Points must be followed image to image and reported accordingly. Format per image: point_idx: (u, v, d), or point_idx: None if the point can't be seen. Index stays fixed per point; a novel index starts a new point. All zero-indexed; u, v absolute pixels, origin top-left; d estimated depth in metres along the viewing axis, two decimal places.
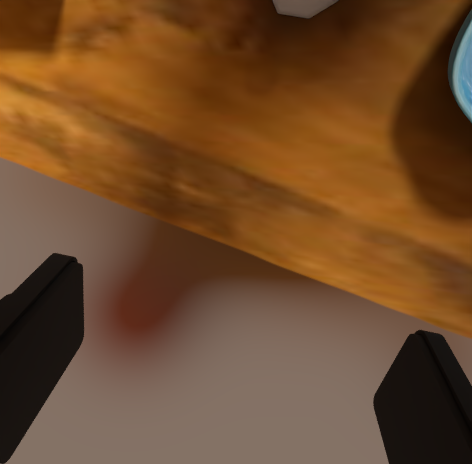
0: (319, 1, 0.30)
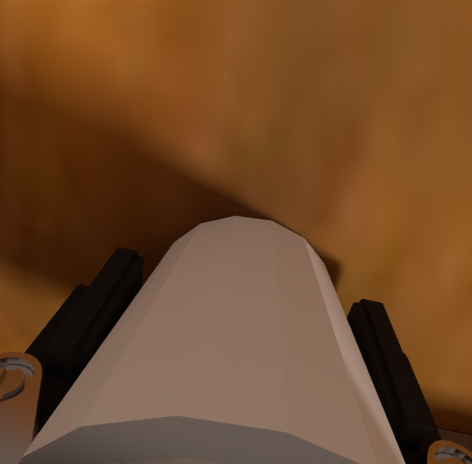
0: None
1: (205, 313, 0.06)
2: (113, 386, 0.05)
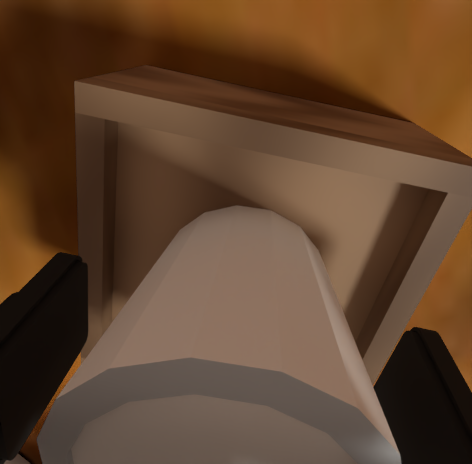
0: None
1: (211, 284, 0.07)
2: (133, 339, 0.06)
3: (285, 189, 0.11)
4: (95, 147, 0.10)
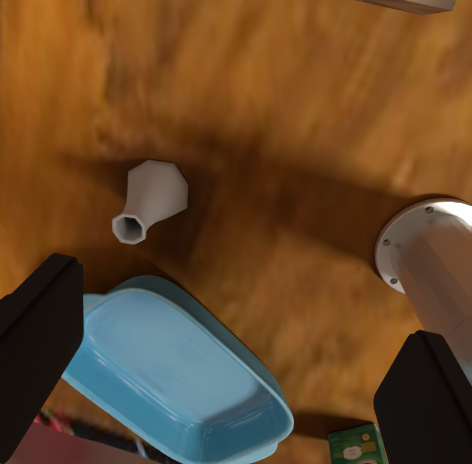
0: None
1: None
2: None
3: None
4: None
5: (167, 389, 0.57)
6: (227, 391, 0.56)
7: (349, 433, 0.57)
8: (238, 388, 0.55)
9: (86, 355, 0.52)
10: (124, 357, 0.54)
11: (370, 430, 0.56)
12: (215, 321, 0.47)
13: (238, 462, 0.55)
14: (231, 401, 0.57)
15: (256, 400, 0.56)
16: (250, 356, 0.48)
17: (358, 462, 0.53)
